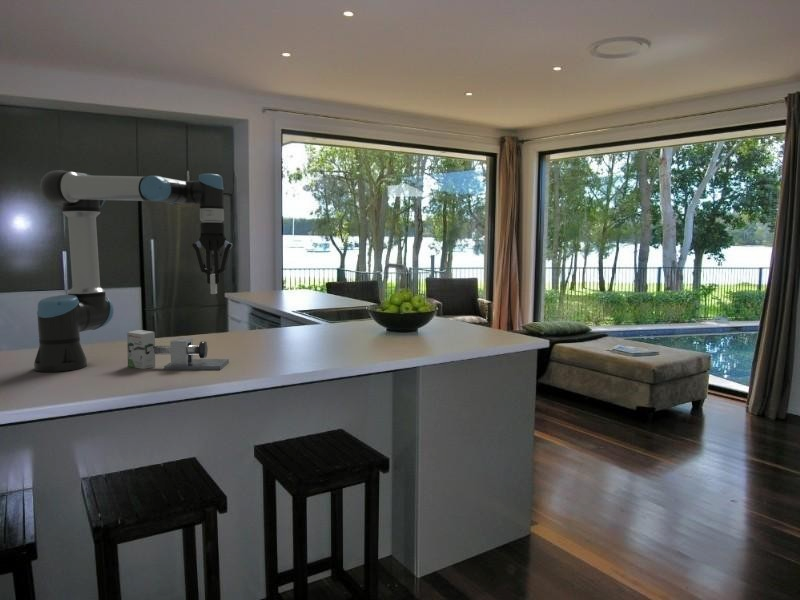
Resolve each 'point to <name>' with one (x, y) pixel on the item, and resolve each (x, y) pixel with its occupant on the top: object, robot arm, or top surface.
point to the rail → (200, 365)
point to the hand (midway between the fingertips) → (213, 293)
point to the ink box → (141, 349)
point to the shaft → (192, 349)
